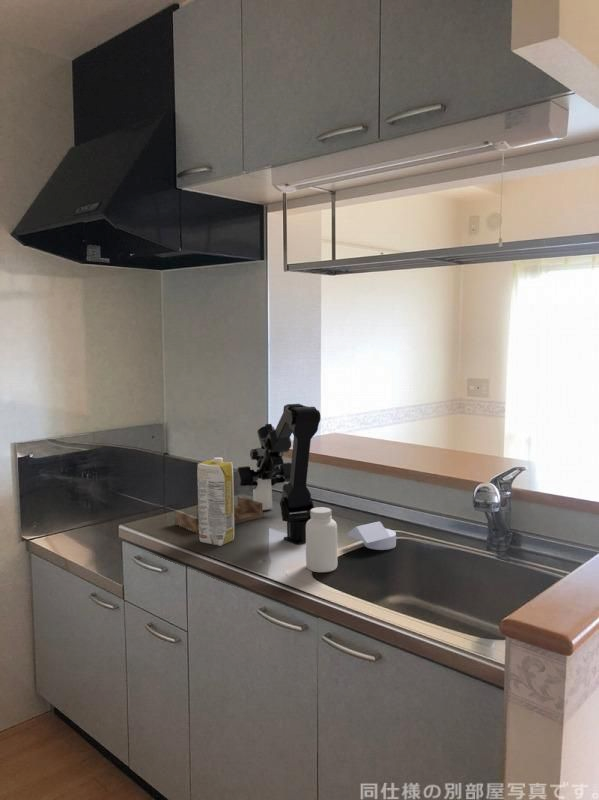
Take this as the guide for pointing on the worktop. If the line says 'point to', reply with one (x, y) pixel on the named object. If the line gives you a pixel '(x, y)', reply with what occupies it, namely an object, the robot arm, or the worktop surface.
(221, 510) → the juice carton
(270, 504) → the grey piece
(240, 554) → the worktop surface
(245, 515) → the comb rack
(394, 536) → the wedge on round base
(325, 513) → the pill bottle
